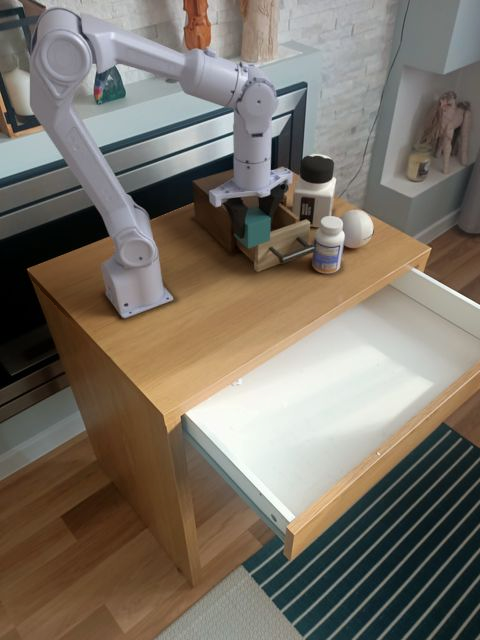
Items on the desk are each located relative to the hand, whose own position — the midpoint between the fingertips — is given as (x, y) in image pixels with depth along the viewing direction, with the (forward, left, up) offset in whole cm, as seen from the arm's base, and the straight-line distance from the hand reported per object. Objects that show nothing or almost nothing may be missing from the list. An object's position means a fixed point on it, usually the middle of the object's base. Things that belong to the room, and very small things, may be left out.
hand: (251, 231), depth 94 cm
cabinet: (+7, +16, -10) cm, 21 cm away
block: (0, 0, -1) cm, 1 cm away
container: (+22, +11, -11) cm, 27 cm away
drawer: (+7, +5, -10) cm, 13 cm away
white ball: (+24, -1, -11) cm, 27 cm away
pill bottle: (+14, -4, -11) cm, 18 cm away
